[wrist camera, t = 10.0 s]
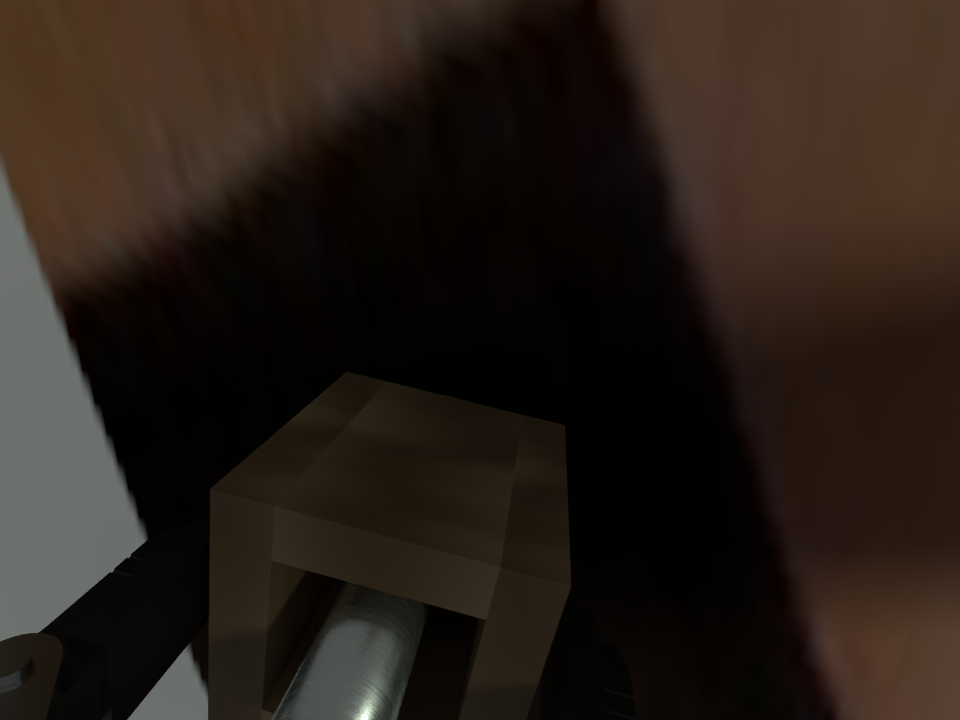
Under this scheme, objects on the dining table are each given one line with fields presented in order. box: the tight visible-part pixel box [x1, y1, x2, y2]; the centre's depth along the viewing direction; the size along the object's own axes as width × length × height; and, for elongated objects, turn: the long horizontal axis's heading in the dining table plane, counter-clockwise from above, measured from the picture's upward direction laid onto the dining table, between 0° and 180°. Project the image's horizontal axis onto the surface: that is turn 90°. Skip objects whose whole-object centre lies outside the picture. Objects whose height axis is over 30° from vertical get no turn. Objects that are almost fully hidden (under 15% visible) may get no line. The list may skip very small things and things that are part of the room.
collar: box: [208, 372, 571, 720], centre depth 12 cm, size 6×6×6 cm
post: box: [272, 394, 466, 720], centre depth 12 cm, size 6×6×9 cm
